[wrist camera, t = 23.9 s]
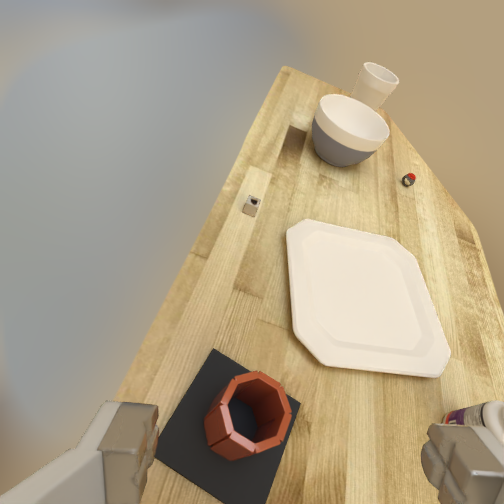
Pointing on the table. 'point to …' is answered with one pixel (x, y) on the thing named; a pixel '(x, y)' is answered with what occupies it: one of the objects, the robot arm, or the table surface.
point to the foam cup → (374, 85)
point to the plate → (362, 302)
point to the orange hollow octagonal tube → (265, 411)
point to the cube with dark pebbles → (251, 205)
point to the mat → (199, 453)
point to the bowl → (346, 130)
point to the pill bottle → (481, 417)
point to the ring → (409, 179)
